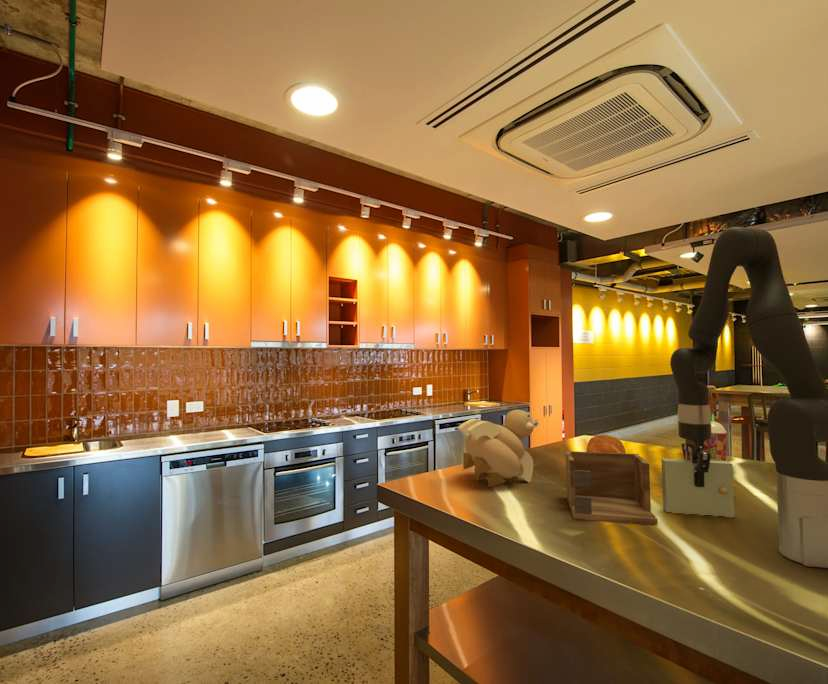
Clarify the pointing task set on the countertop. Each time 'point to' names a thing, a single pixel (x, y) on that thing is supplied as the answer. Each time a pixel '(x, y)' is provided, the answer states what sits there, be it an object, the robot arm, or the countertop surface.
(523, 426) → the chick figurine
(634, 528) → the countertop surface
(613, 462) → the cabinet
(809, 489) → the robot arm
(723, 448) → the smoothie
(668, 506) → the door
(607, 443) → the bread
